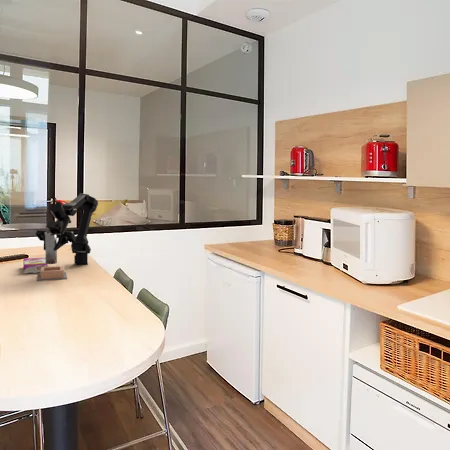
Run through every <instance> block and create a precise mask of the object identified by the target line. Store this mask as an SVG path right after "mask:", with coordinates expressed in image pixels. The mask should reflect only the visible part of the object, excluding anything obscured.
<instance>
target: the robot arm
mask: <svg viewBox="0 0 450 450" xmlns="http://www.w3.org/2000/svg"><path fill="white" fill-rule="evenodd" d="M98 206H99V200H97V199H96V198H95V197H93V196H91V195H89V194H88V193H79V194H78V195H77V196H76V197H75V198H74V199H73V200H71V201H69V202H66V203H62V202H61V201H56V202H55V203H53V204H52V205H50V206H49V211H50V212H51V214H52V216H53V217H54V219H56V220H47V222H46V226H45V227H46V228H47V229H48V231H49V232H47V231H46V230H45V229H37V230H36V231H35V233H34V234H35V236H36V237H37V239H39V241H43V250H44V251H45V234H57V239H58V240H57V244H56V246H55V249H54V250H55V251H56V250H57V251H58V250H59V249H61V248H62V247H63V246H65V245H66V244H69V243H71V246H70V247H71V248H70V249H71V253H72V254H74V255H73V258H74V260H73V261H74V264H75V266H81V265H88V264H89V262H88V255H89V254H90V253H91V250H92V249H91V247H90V245H89V239H88V237H87V236H88V232H89V228H90V224H91V220H92V215H93V214H94V212H96V211H97V208H98ZM80 207H81V209H82V216H81V220H80V223H79V229H78V232H77V234H76V235H75V233H74V231H68V229H67V228H68V225H69V224H72V220H71V218H70V217H74V216H75V215H76V214H77V212H78V208H80Z"/></svg>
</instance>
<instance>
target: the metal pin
mask: <svg viewBox="0 0 450 450" xmlns="http://www.w3.org/2000/svg"><path fill="white" fill-rule="evenodd" d="M57 239H58V238H57V234H45V250H44V251H45V258H46V264H48V265H54V264H57V263H58V254H57V253H58V250H56V251H55V250H54V249H55V246H56V244H57V242H58V240H57Z"/></svg>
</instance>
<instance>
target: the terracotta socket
mask: <svg viewBox="0 0 450 450" xmlns="http://www.w3.org/2000/svg"><path fill="white" fill-rule="evenodd" d="M57 279H59V280H68V275H67V271H64V266H63V265H61V266H60V265H59V266H48V267H41V273H37V278H36V281H55V280H57Z"/></svg>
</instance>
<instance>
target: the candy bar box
mask: <svg viewBox="0 0 450 450" xmlns="http://www.w3.org/2000/svg"><path fill="white" fill-rule="evenodd" d="M48 265H49V264H46V257H28V258H27V257H26V258H23V265H22V267H23V271H22V272H23V273H22V274H39V273H41V267H49V266H48Z"/></svg>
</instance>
